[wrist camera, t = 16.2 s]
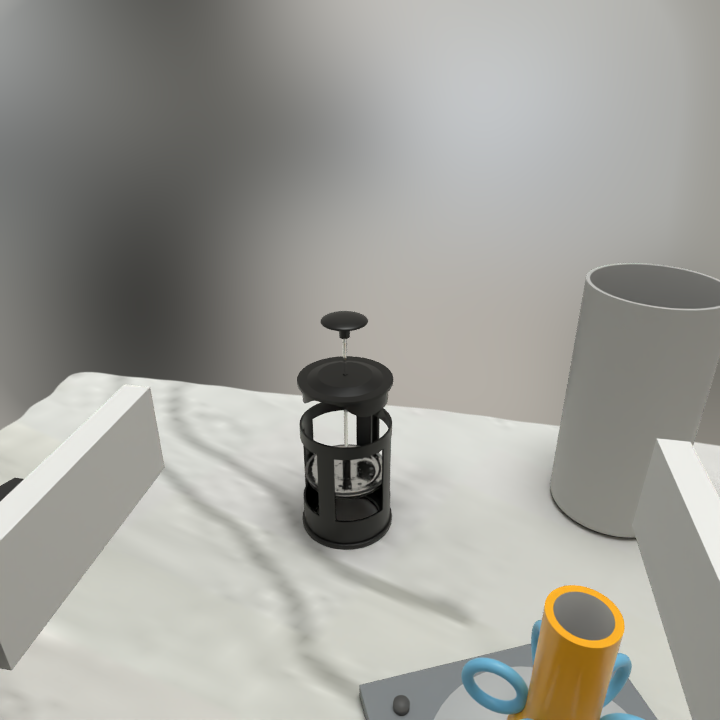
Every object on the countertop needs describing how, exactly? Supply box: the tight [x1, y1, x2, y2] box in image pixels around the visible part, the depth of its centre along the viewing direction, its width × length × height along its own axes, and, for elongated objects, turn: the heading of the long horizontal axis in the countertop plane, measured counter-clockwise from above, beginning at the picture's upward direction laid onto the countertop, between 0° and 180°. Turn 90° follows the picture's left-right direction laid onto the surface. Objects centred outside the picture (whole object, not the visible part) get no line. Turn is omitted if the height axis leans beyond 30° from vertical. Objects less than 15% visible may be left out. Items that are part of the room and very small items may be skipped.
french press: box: [297, 311, 393, 549], centre depth 59 cm, size 12×9×23 cm
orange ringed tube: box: [461, 585, 645, 720], centre depth 35 cm, size 12×10×15 cm
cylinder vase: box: [550, 263, 720, 537], centre depth 61 cm, size 12×12×25 cm
